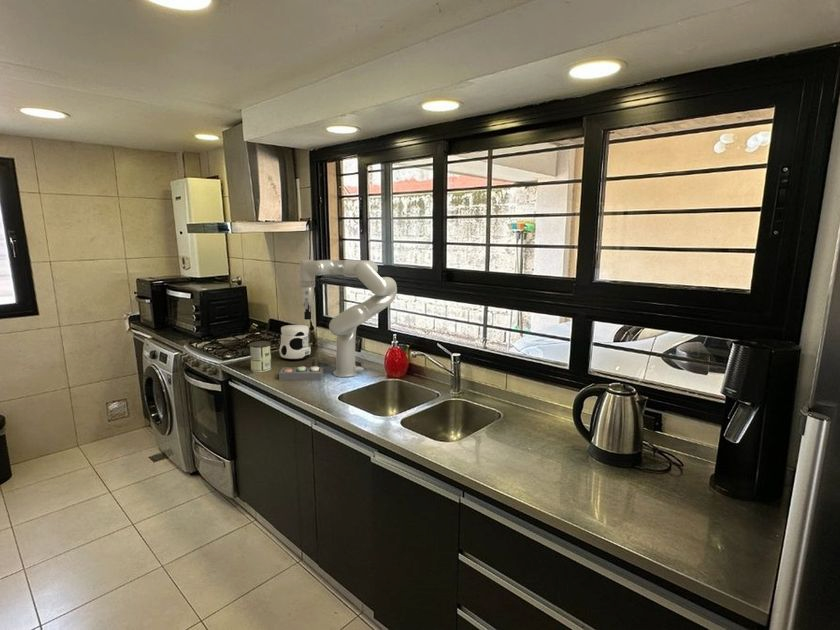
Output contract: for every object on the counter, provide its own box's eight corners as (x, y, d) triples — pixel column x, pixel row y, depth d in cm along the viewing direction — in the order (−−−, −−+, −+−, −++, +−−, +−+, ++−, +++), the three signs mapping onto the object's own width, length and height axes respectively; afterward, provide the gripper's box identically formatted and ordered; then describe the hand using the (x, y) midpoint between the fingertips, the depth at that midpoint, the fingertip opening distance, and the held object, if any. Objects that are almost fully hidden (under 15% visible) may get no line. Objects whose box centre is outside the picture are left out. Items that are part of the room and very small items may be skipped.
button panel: (323, 374, 222) (323, 367, 222) (321, 380, 213) (321, 373, 213) (282, 374, 220) (282, 367, 219) (279, 380, 210) (278, 373, 210)
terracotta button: (293, 372, 218) (293, 368, 217) (291, 374, 214) (291, 371, 213) (284, 372, 217) (284, 368, 217) (283, 374, 213) (283, 371, 213)
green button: (306, 370, 218) (306, 366, 218) (305, 372, 214) (305, 368, 214) (298, 370, 218) (298, 366, 217) (296, 372, 214) (296, 368, 213)
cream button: (319, 370, 219) (319, 366, 219) (318, 372, 215) (318, 368, 215) (311, 370, 219) (311, 366, 218) (310, 372, 215) (310, 368, 214)
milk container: (280, 354, 255) (279, 324, 252) (310, 353, 260) (310, 324, 257) (278, 362, 239) (278, 330, 236) (311, 361, 244) (310, 330, 241)
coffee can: (256, 365, 232) (255, 340, 229) (274, 367, 231) (274, 341, 228) (246, 371, 222) (246, 344, 219) (266, 372, 221) (265, 346, 218)
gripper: (313, 285, 215) (313, 322, 218) (316, 282, 229) (316, 316, 232) (297, 285, 214) (298, 321, 217) (302, 282, 228) (302, 316, 231)
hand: (307, 319), depth 225 cm, fingers closed
